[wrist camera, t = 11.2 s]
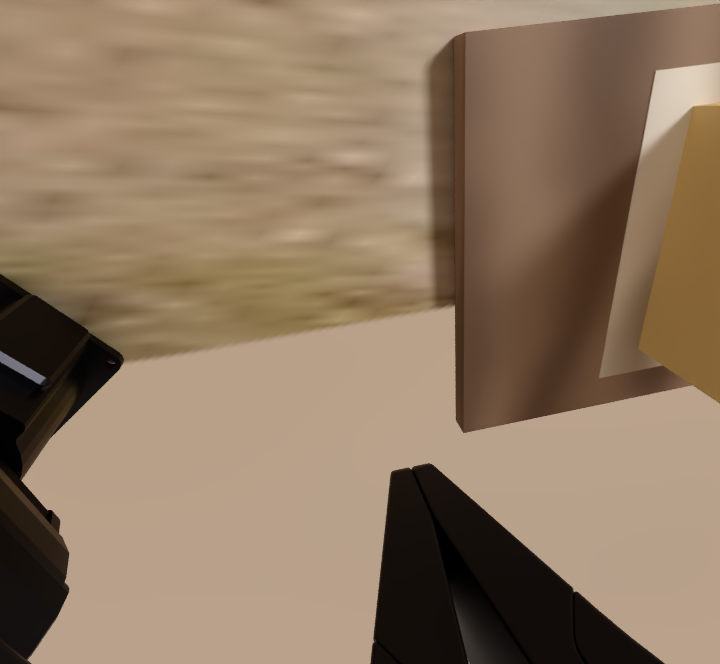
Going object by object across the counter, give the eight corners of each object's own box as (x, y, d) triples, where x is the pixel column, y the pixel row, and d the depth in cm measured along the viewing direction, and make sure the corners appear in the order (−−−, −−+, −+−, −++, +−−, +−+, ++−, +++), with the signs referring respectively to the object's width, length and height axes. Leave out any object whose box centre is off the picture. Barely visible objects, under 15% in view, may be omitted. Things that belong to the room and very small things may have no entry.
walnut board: (455, 419, 26) (464, 433, 25) (453, 37, 17) (466, 32, 16) (822, 344, 28) (845, 353, 27) (992, -24, 19) (1036, -32, 18)
